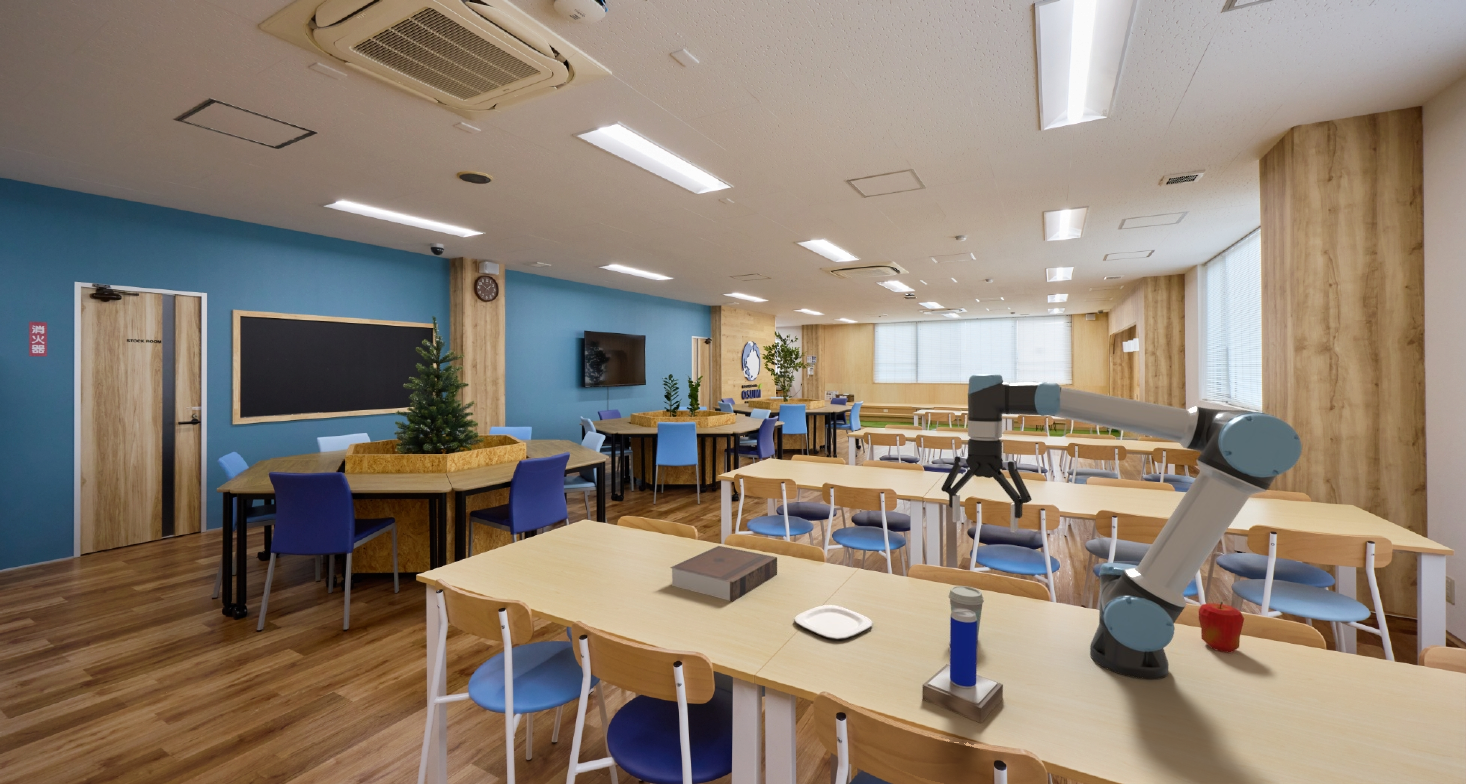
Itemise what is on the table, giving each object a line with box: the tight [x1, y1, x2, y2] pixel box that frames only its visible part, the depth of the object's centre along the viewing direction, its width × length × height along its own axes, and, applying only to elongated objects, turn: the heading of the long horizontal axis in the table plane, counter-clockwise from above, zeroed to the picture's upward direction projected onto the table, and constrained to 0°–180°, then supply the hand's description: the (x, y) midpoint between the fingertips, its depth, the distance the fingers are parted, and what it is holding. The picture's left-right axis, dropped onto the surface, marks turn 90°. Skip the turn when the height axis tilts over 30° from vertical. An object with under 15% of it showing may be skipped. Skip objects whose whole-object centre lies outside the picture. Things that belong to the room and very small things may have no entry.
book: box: [670, 545, 778, 603], centre depth 188 cm, size 24×28×6 cm
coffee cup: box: [948, 585, 985, 640], centre depth 146 cm, size 8×9×12 cm
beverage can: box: [949, 608, 978, 689], centre depth 118 cm, size 5×5×15 cm
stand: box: [921, 664, 1004, 724], centre depth 118 cm, size 12×12×3 cm
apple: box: [1198, 601, 1245, 653], centre depth 140 cm, size 9×8×12 cm
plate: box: [793, 604, 874, 640], centre depth 154 cm, size 18×18×2 cm
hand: (984, 526), depth 136 cm, fingers open, 13 cm apart
